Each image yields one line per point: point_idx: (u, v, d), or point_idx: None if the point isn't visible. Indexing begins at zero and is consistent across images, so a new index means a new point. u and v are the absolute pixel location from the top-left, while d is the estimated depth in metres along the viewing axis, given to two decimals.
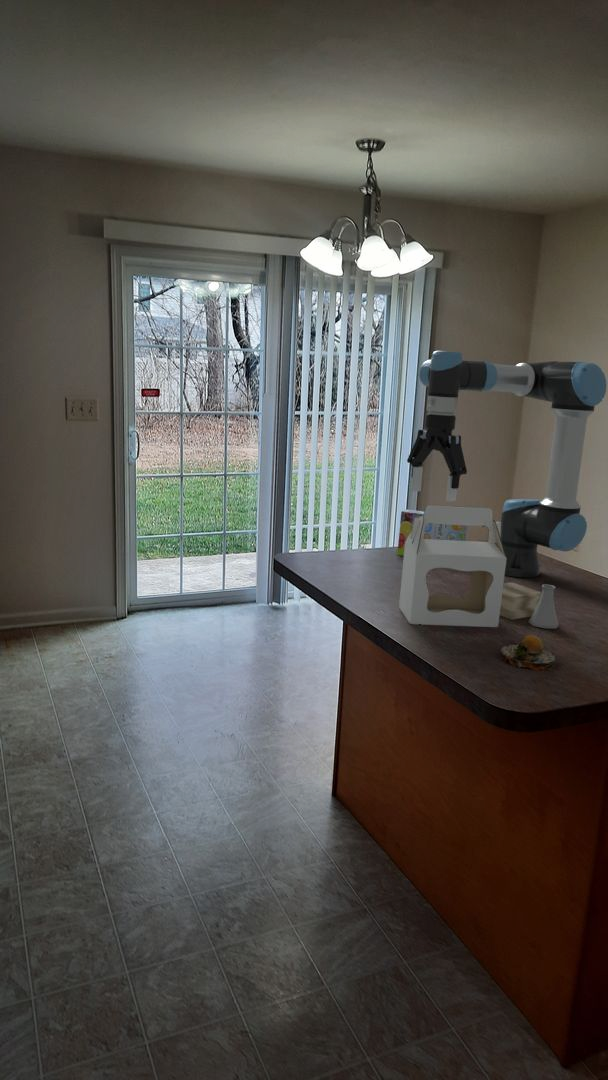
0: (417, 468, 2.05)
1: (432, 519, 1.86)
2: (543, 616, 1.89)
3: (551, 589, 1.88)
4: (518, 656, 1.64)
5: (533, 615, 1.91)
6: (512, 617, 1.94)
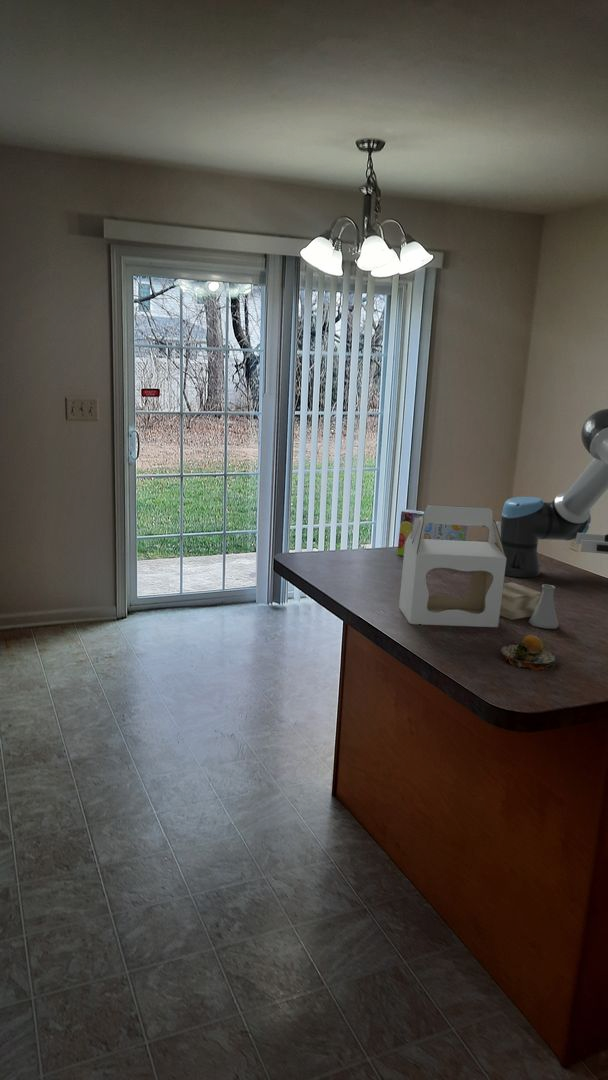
0: None
1: (432, 519, 1.86)
2: (543, 616, 1.88)
3: (551, 589, 1.88)
4: (518, 656, 1.64)
5: (533, 615, 1.91)
6: (512, 617, 1.94)
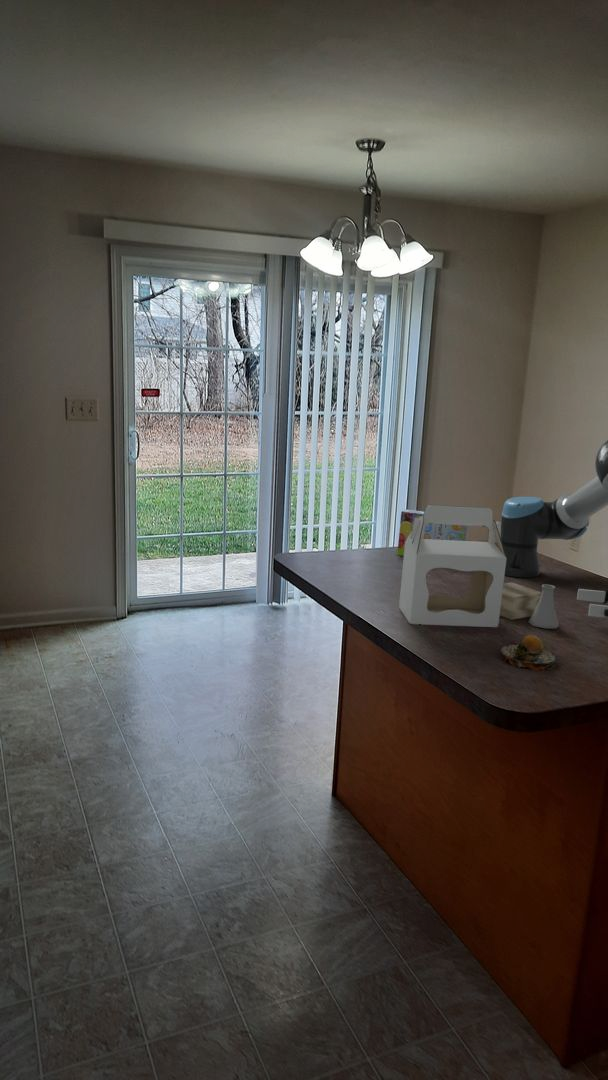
0: None
1: (432, 519, 1.86)
2: (543, 616, 1.89)
3: (551, 589, 1.88)
4: (518, 656, 1.64)
5: (533, 615, 1.91)
6: (512, 617, 1.94)
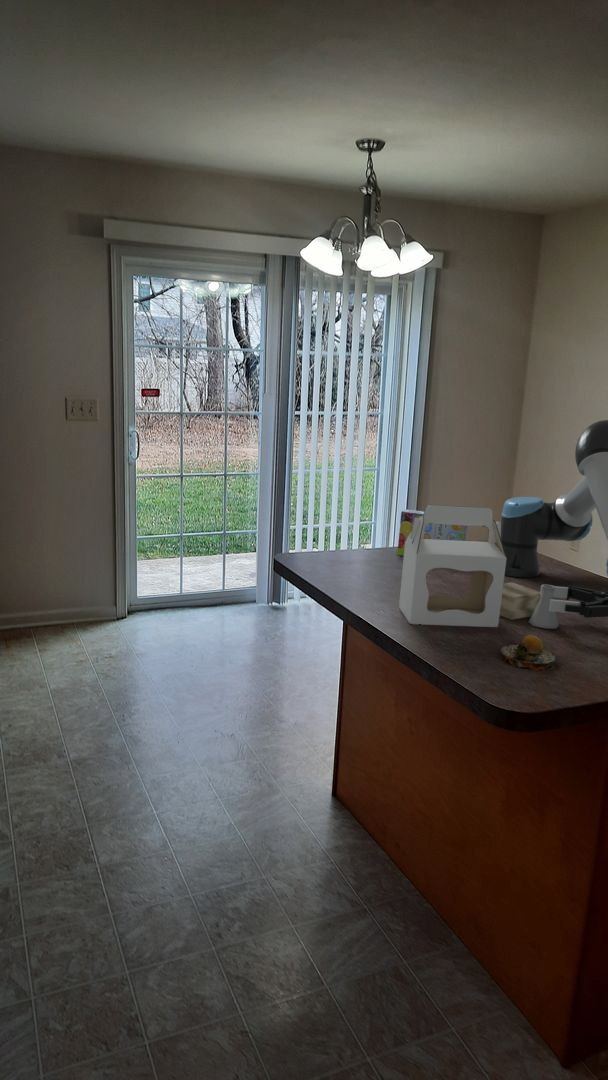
0: None
1: (432, 519, 1.86)
2: (543, 616, 1.89)
3: (551, 589, 1.88)
4: (518, 656, 1.64)
5: (533, 615, 1.91)
6: (512, 617, 1.94)
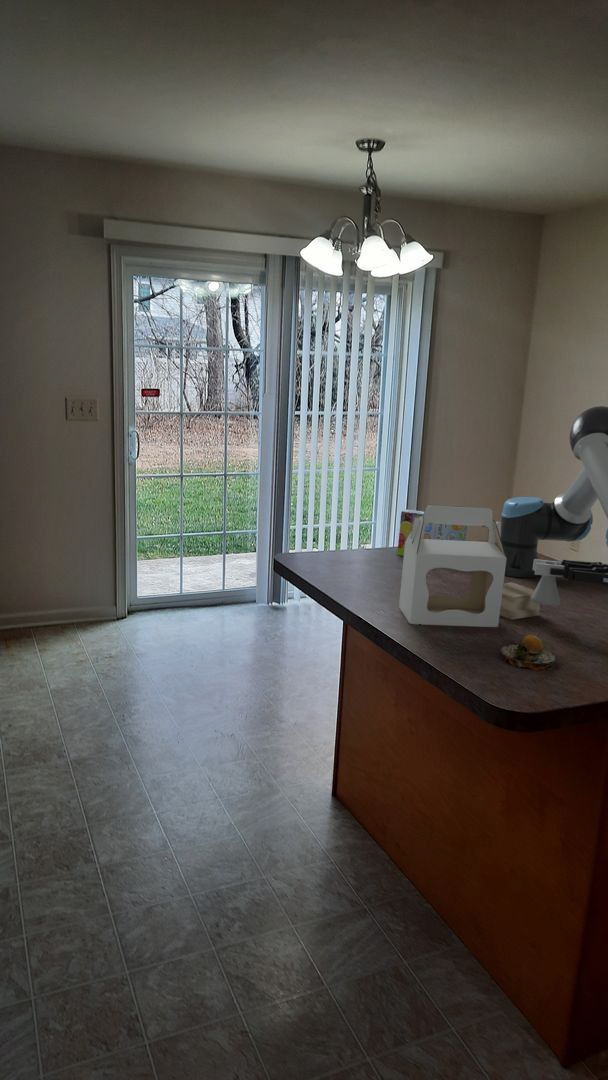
0: None
1: (432, 519, 1.86)
2: (545, 593, 1.87)
3: None
4: (518, 656, 1.64)
5: (535, 592, 1.90)
6: (512, 617, 1.94)
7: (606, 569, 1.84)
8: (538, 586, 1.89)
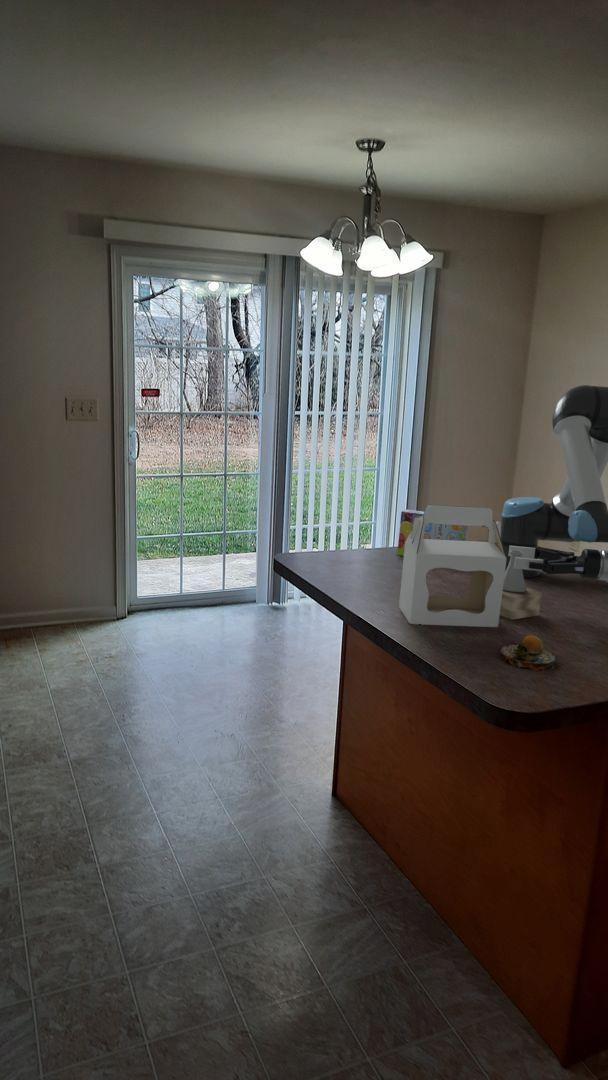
0: None
1: (432, 519, 1.86)
2: (511, 580, 1.96)
3: (519, 554, 1.96)
4: (518, 656, 1.64)
5: None
6: (512, 617, 1.94)
7: (573, 558, 1.93)
8: (505, 574, 1.98)
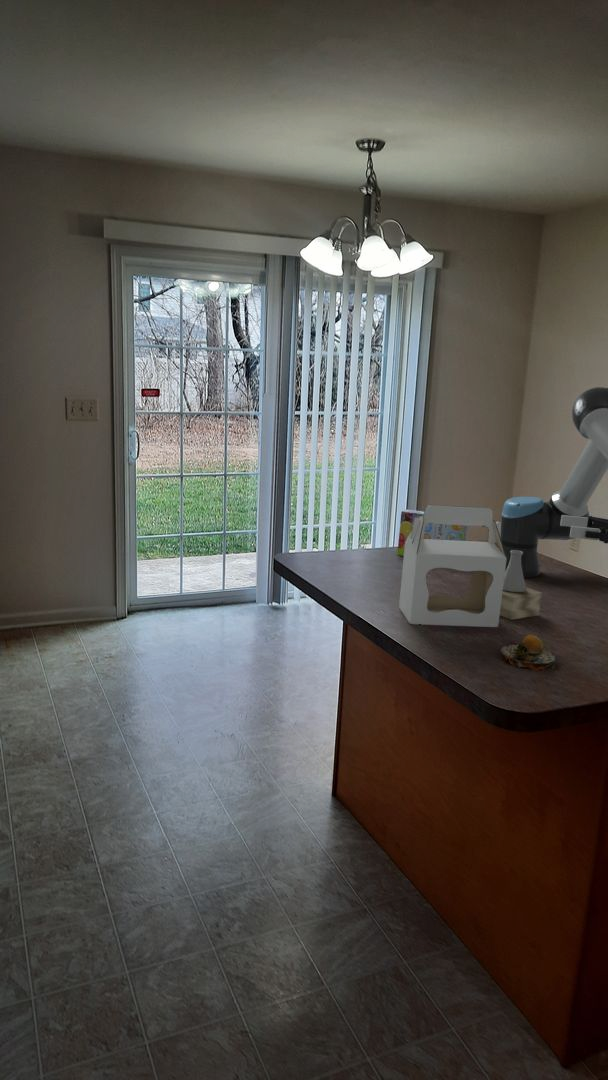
0: None
1: (432, 519, 1.86)
2: (511, 580, 1.96)
3: (519, 554, 1.96)
4: (518, 656, 1.64)
5: None
6: (512, 617, 1.94)
7: None
8: (505, 574, 1.98)
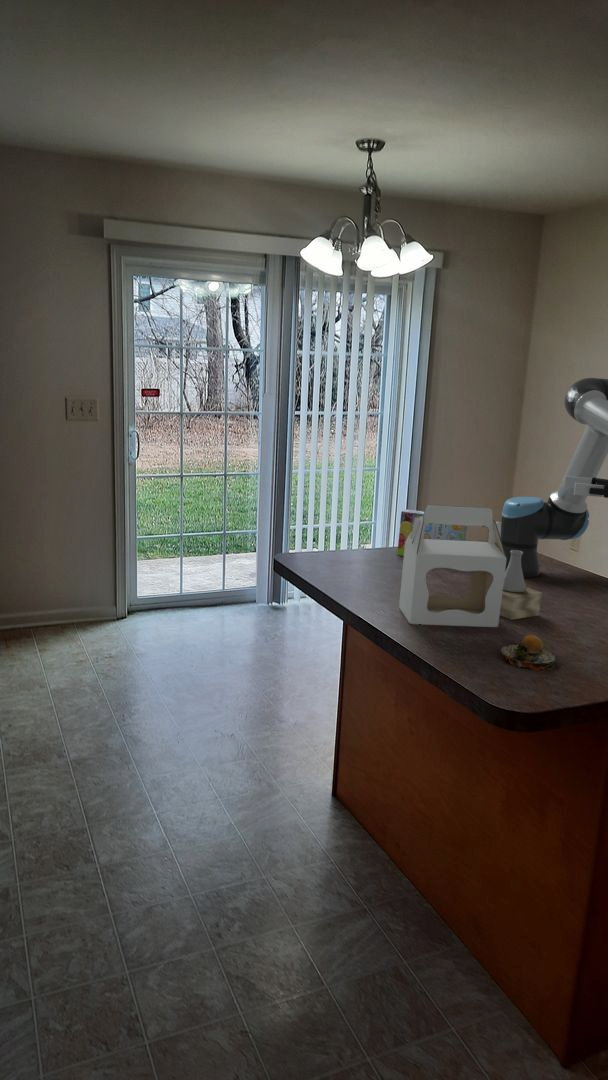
0: None
1: (432, 519, 1.86)
2: (511, 580, 1.96)
3: (519, 554, 1.96)
4: (518, 656, 1.64)
5: None
6: (512, 617, 1.94)
7: None
8: (505, 574, 1.98)
